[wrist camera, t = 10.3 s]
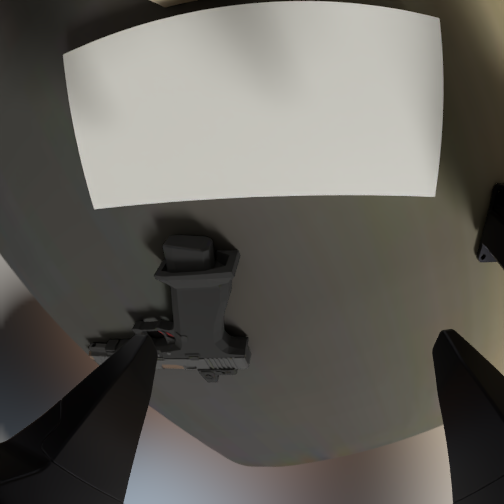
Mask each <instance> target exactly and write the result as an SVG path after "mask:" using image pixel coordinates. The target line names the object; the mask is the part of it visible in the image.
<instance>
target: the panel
mask: <svg viewBox="0 0 504 504" xmlns="http://www.w3.org/2000/svg"><path fill="white" fill-rule="evenodd" d="M63 60H64V69H65V77H66V84H67V91H68V98H69V104H70V110H71V115H72V121H73V126H74V131H75V136H76V140H77V145H78V150H79V154H80V158H81V162H82V166H83V170H84V174H85V178H86V182H87V186H88V189H89V193H90V196H91V200H92V203H93V207H94V209H101V208H110V207H120V206H130V205H140V204H151V203H163V202H176V201H190V200H205V199H222V198H241V197H265V196H300V195H394V196H427V197H435V192H436V185H437V178H438V170H439V161H440V151H441V139H442V123H443V54H442V39H441V28H440V19H439V18H437V17H433V16H429V15H424V14H420V13H415V12H410V11H405V10H400V9H394V8H388V7H381V6H374V5H366V4H356V3H344V2H327V1H281V2H263V3H251V4H241V5H233V6H225V7H219V8H212V9H206V10H201V11H195V12H190V13H186V14H181V15H176V16H172V17H168V18H164V19H160V20H156V21H153V22H149V23H146V24H142V25H139V26H136V27H132V28H129V29H126V30H123V31H120V32H117V33H114V34H112V35H109V36H106V37H103V38H101V39H98V40H96V41H93V42H91V43H88V44H86V45H83V46H81V47H79V48H76V49H74V50H72V51H70V52H68V53H65V54H63Z"/></svg>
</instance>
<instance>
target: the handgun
mask: <svg viewBox="0 0 504 504" xmlns="http://www.w3.org/2000/svg"><path fill="white" fill-rule="evenodd" d="M163 251H164V255H165V260H163V261H162V263H161V264H160V266H159V268H158V269H157V271H156V273H155V274H154V277H155V279H157V280H159V281H161V282H163V283H165V284H168V285H169V286H171V297H172V309H173V319H174V322H169V321H164V320H162V319H161V320H159V321H155V322H143V321H136V323H135V325H134V326H133V328H132V330H133V331H134V332H135V334H148V333H147V331H159V332H160V333H162V334H163V335H164V336H165V337H164V338H156V339H155V338H153V337H151V336H150V337H151V339H152V341H153V343H154V345H155V348H156V350H157V353H158V358H157V364H156V369H165V368H183V369H185V370H198V371H199V373H200V374H201V375H202V377H203V378H204V379H205V380H206V381H207V382H218V377H219V375H235V374H237V370H238V369H247V368H248V367H249V363H250V358H251V352H250V350H249V347H248V337H232V336H230V335H228V333H227V332H226V331H225V330H224V313H225V309H226V306H227V303H228V300H229V296H230V293H231V289H232V279H233V278H234V276H235V272H236V269H237V265H238V262H239V258H240V253H239V251H238V250H229V251H216V254H217V257H218V259H217V261H216V260H215V258H214V249H213V241H212V240H211V239H210V238H209V237H205V236H189V235H172V236H169V237H168V239H167V240H166V242H165V243H164V245H163ZM148 335H149V334H148ZM129 340H130V339H122V340H119V339H118V340H109V341H108V343H107V344H99V343H91V344H90V346H89V349H90V351H89V357H90V358H91V359H92V360H96V362H97V363H98V364H100V365H101V364H102V363H103V362H104V361H106V360H107V359H108V358H109V357H110V356H111V355H113V354H114V353H115V352H116V351H117V350H118V349H119V348H121V347H122V346H123V345H124V344H125V343H126V342H128V341H129Z"/></svg>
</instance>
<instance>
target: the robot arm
mask: <svg viewBox="0 0 504 504" xmlns="http://www.w3.org/2000/svg"><path fill="white" fill-rule="evenodd" d="M499 189H500V191H499ZM498 191H499V192H498ZM482 255H483V256H482ZM481 256H482V257H481ZM476 257H477V259H478V260H479V261H480V262H498V263H499V264H500V266H501V267H502V268H503V269H504V184H503V183H497V184H495V186H494V188H493V192H492V197H491V202H490V206H489V211H488V215H487V219H486V223H485V227H484V231H483V235H482V238H481V242H480V245H479V249H478V252H477V256H476ZM432 354H433V361H434V368H435V376H436V384H437V392H438V398H439V403H440V408H441V413H442V418H443V424H444V429H445V436H446V441H447V448H448V456H449V464H450V472H451V482H452V494H453V504H504V376H503V375H502V374H501V373H500V372H499V371H498V370H497V369H496V368H495V367H494V366H493V365H492V364H491V363H490V362H489V361H488V360H486V359H485V358H484V357H483V356H482V355H481V354H480V353H479V352H478V351H477V350H476V349H475V348H474V347H472V346H471V345H470V344H469V343H468V342H467V341H466V340H465V339H464V338H463V337H461V336H460V335H459V334H458V333H457V332H456V331H455V330H453V329H448V330H442V331H441V332H440V334H439V336H438V338H437V340H436V342H435V345H434V347H433V352H432ZM157 358H158V353H157V350H156V348H155V345H154V343H153V341H152V339H151V337H150V336H149V335H148V334H136V335H135V336H133V337H132V338H131V339H130V340H129V341H128V342H126V343H125V344H124V345H123V346H122V347H121V348H119V349H118V350H117V351H116V352H115V353H114V354H113V355H111V356H110V357H109V358H108V359H107V360H106V361H104V362H103V363H102V364H101V365H100V366H99V367H97V368H96V369H95V370H94V371H93V372H92V373H91V374H89V375H88V376H87V377H86V378H85V379H84V380H83V381H81V382H80V383H79V384H78V385H77V386H76V387H74V388H73V389H72V390H71V391H70V392H69V393H68V394H66V396H64V397H63V398H62V400H60V401H58V402H57V403H56V404H55V405H54V406H53V407H51V408H50V409H49V410H48V411H47V412H46V413H44V414H43V415H42V416H41V417H39V418H38V419H37V420H35V421H34V422H33V423H31V424H30V425H28V426H27V427H26V428H24V429H23V430H21V431H20V432H19V433H17V434H16V435H14V436H13V437H12V438H10V439H9V440H7V441H5V442H2V443H0V504H123V502H124V498H125V494H126V489H127V485H128V480H129V477H130V473H131V469H132V465H133V460H134V457H135V453H136V449H137V445H138V441H139V438H140V434H141V430H142V426H143V423H144V419H145V416H146V412H147V408H148V405H149V401H150V397H151V392H152V386H153V380H154V375H155V369H156V364H157Z"/></svg>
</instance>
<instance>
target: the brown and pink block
mask: <svg viewBox="0 0 504 504" xmlns="http://www.w3.org/2000/svg"><path fill="white" fill-rule="evenodd" d="M150 1H152V2H155V3H157V4H159V5H161V6H163V7H169V6H173V5H177V4H182V3H186V2H191V1H196V0H150Z"/></svg>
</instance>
